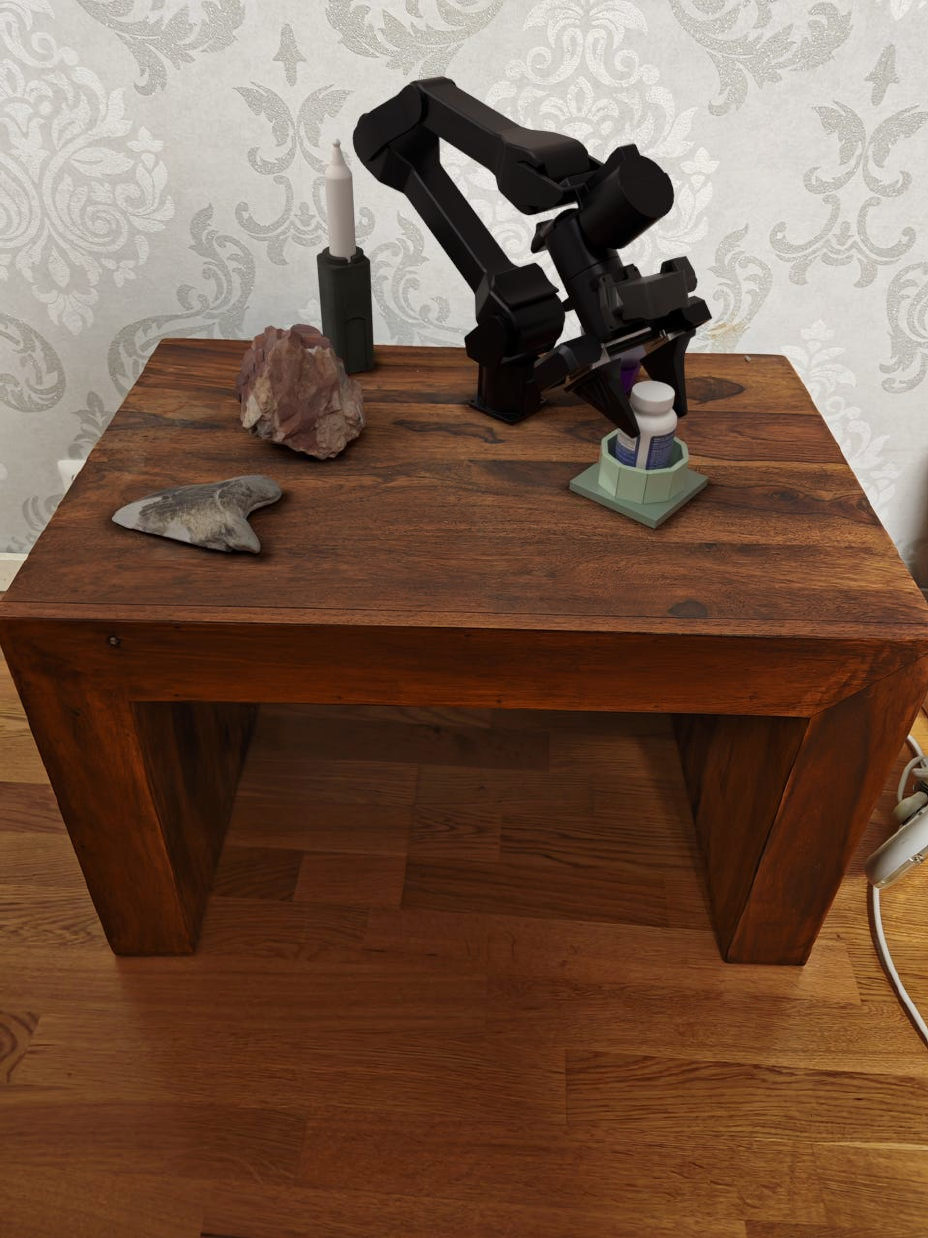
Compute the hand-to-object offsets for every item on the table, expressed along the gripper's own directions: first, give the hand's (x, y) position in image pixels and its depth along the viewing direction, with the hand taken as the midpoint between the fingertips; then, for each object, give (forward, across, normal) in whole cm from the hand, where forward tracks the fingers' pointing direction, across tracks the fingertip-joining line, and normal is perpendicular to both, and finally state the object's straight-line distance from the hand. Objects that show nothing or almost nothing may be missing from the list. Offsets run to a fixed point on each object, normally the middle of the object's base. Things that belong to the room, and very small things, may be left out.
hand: (660, 426), depth 91 cm
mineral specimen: (-16, -21, +27) cm, 38 cm away
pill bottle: (+4, 0, +6) cm, 7 cm away
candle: (-23, -9, +34) cm, 42 cm away
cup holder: (+4, 0, +6) cm, 8 cm away
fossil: (-10, -38, +22) cm, 45 cm away
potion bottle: (-7, +13, +18) cm, 24 cm away
